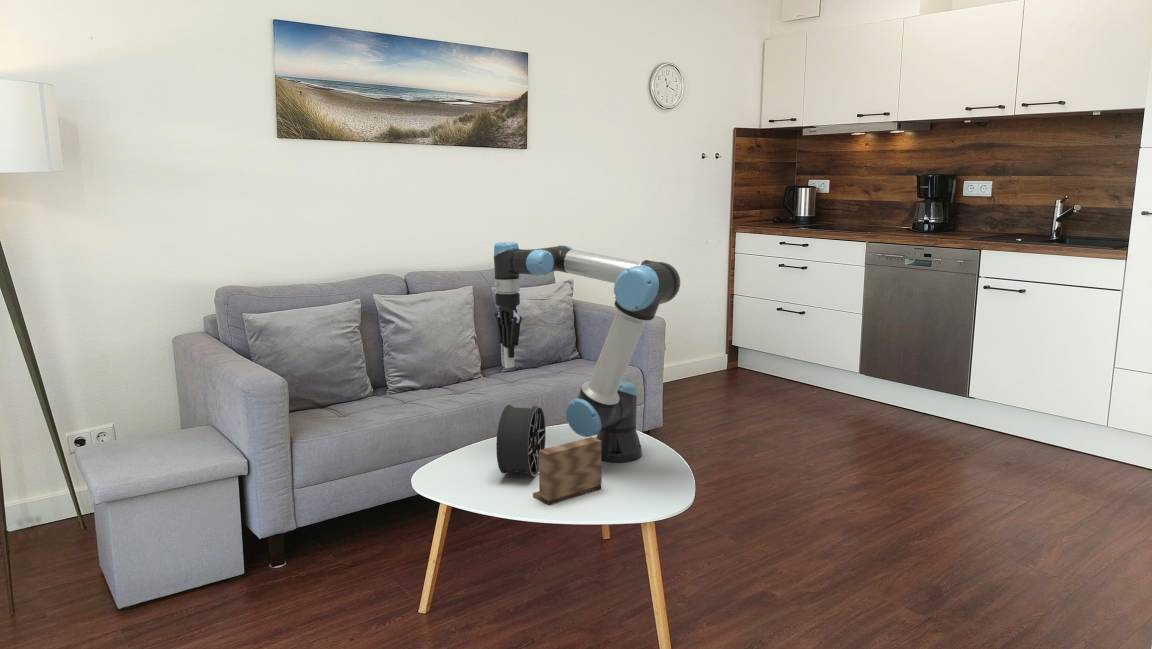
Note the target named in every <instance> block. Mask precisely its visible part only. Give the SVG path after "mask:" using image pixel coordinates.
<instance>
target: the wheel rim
mask: <svg viewBox="0 0 1152 649" xmlns="http://www.w3.org/2000/svg"><path fill="white" fill-rule="evenodd" d="M544 412H545V411H544V410H543V407H541V406H540V405H534V406H532V407H517V406H516V407H514V406H513V405H511V404H507V405H506V406H505V407H504V408H503V410H502V412H501V414H500V418H499V421H498V426H497V433H496V445H495V447H496V448H495V449H496V460H497V465H498V469H499V471H500V473H502V474H508V473H523V474H527V475H528V476H529V477H536V476H537V475H539V473H538V472H539V450H542V449H546V438H547V437H546V432H547V431H546V430H547V429H546V419H545V418H546V417H545V413H544Z"/></svg>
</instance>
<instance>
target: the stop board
mask: <svg viewBox="0 0 1152 649" xmlns="http://www.w3.org/2000/svg"><path fill="white" fill-rule="evenodd" d="M538 477H539V478H538V480H539V482H538V489H539V490H538V491H535V492H532V497H533V498H534V499H536V500H537V501H539V502H541V503H543V504H545V505H547V506H550V505H554V504H557V503H560V502H563V501H567V500H571V499H574V498H576V497H579V496H583V495H587V494H590V493H593V492H596V491H595V490H597V491H600V490H602V460H601V440H599V439H596V437H593V436H590V437H585V438H582V439H579V440H574V441H571V442H566V443H563V444H558V445H555V446H550V447H547V448H546V447H545V449H542V450H539V473H538ZM599 489H600V490H599ZM592 491H593V492H592ZM589 492H590V493H589ZM586 493H587V494H586ZM573 497H574V498H573Z"/></svg>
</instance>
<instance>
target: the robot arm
mask: <svg viewBox="0 0 1152 649" xmlns="http://www.w3.org/2000/svg"><path fill="white" fill-rule="evenodd" d="M493 245H494V246H493V265H494V267H493V268H494V284H493V285H494V290H495V292H496V293H495V294H494V298H495V305H496V306H498V312H494V318H495V320H496V326H497V331H498V332H497V333H498V339H499V344H500V345H501V344H502V347H503V355H504V356H503V358H504V360H503V361H504V368H505V369H510V368H511V369H512V368H515V347H517V346H519V342H520V341H519V340H520V330H521V323H522V319H523V317H522V316H521V315H520V316H519V315H518V309H517V306H519V305H520V303H521V302H520V301H521V296H520V294H521V293H519V291H521V290H520V275H532V276H537V277H539V276H546V275H549V273H552V272H561V273H566V274H570V275H576V276H579V277H585V278H589V279H593V280H597V281H598V280H599V281H602V282H608V283H612V284H614V285H613V293H614V295H615V297H614V299H615V301H614V304H613V305H614V307H615V310H616V314H615V316H614V318H613V321H612V323H611V326H610V328H609V331H608V333H607V336H606V338H605V340H604V344H603V346H602V349H601V351H600V353H599V356H598V359H597V361H596V364H595V366H594V369H593V370H592V374H591V376H590V379H589V380H588V381H584V383H583V384H582V385H581V387H580V390H579V393H578V396H577V397H576V398H574V399H572V400H570V401H569V403H568V404H567V406H566V408H565V418H566V421H567V422H568V425H569V427H570V428H571V430H572V431H573V432H574V433H575V434H576V435H579V436H581V437H584V438H590V437H593V436H596V437H595V438H596V439H599V440H601V461H603V462H611V463H625V462H626V463H627V462H632V461H635V460H638V459H639V458H641V457H642V445H641V442H640V438H639V435H638V432H637V398H638V395H637V386H636V385H635V384H634V383H632V382H629V381H624V380H623V378H624V376H625V374H626V372H627V369H628V366H629V364H630V362H631V360H632V357H633V354H634V352H635V350H636V347H637V345H638V343H639V340H640V338H641V336H642V333H643V331H644V329H645V325H646V323H649V322H651V321H654V318H655V317H656V313H657V312H658V309H659V307H660V305H661V304H665V303H668V302H670V301H671V300H673V299H674V298H675V297H676V296H677V295H678V293H679V291H680V288H681V278H680V275H679V274H680V273H679V272H678V270H677V269H676V268H675V267H674V266H673V265H672V264H669V263H667V262H664V261H654V260H648V259H644V260H643V261H641V262H640V261H637V260H636V261H635V260H630V259H624V258H621V257H620V258H619V257H614V256H609V255H605V254H600V253H594V252H590V251H589V252H588V251H583V250H579V249H574V248H572V247H571V246H569V245H556V246H550V247H541V248H534V249H529V248H528V249H526V248H525V249H524V248H523V249H520V248H519V244H518V242H516V241H499V242H496V243H495V244H493Z"/></svg>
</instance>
